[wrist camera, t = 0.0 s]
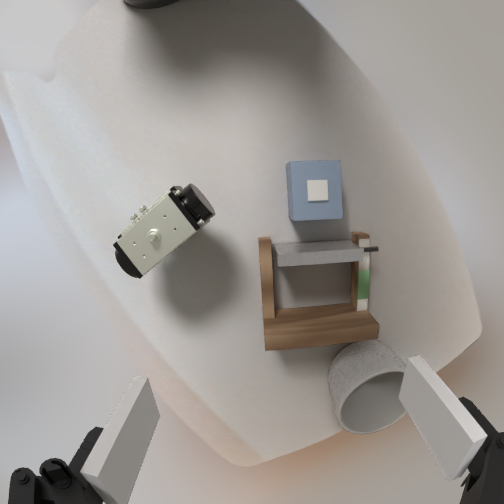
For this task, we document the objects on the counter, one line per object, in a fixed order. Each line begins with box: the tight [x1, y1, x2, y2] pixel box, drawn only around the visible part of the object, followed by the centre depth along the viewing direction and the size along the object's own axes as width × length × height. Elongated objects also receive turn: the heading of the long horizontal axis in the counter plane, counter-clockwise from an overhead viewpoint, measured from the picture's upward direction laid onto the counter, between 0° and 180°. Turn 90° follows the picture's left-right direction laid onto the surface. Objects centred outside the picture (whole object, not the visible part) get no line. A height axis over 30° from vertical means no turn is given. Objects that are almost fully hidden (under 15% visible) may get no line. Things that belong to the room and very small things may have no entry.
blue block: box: [286, 161, 343, 221], centre depth 36 cm, size 7×6×5 cm
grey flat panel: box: [274, 240, 378, 267], centre depth 37 cm, size 2×13×6 cm, turn 94°
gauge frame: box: [259, 232, 379, 351], centre depth 37 cm, size 12×15×8 cm
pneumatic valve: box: [113, 183, 215, 279], centre depth 33 cm, size 6×12×12 cm, turn 127°
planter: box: [328, 340, 407, 434], centre depth 39 cm, size 12×12×11 cm
